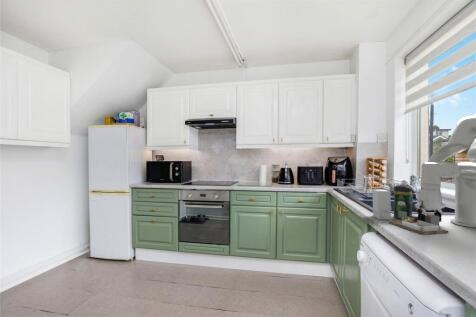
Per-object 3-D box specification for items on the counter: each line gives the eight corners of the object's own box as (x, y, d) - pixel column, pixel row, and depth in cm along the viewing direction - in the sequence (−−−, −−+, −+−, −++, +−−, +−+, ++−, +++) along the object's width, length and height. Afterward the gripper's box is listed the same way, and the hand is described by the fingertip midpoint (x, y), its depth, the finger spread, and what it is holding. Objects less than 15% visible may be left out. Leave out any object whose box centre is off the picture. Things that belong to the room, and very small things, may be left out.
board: (411, 221, 121) (411, 214, 120) (448, 232, 103) (448, 225, 103) (388, 222, 118) (388, 215, 118) (422, 234, 100) (422, 226, 100)
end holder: (419, 223, 113) (419, 220, 113) (440, 230, 103) (440, 226, 103) (401, 224, 111) (401, 221, 111) (421, 231, 101) (421, 227, 101)
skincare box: (391, 220, 123) (391, 191, 123) (377, 219, 124) (378, 190, 124) (384, 216, 131) (384, 189, 131) (371, 215, 132) (372, 188, 132)
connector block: (429, 223, 117) (429, 212, 117) (439, 226, 112) (439, 215, 112) (420, 224, 116) (421, 212, 116) (430, 227, 111) (431, 215, 111)
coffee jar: (396, 214, 134) (397, 183, 134) (413, 217, 128) (414, 184, 128) (391, 217, 128) (392, 184, 127) (408, 220, 122) (409, 186, 121)
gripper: (437, 186, 119) (436, 218, 119) (408, 186, 116) (407, 219, 116) (452, 188, 112) (451, 222, 112) (423, 188, 109) (422, 224, 109)
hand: (429, 221), depth 114 cm, fingers open, 9 cm apart
